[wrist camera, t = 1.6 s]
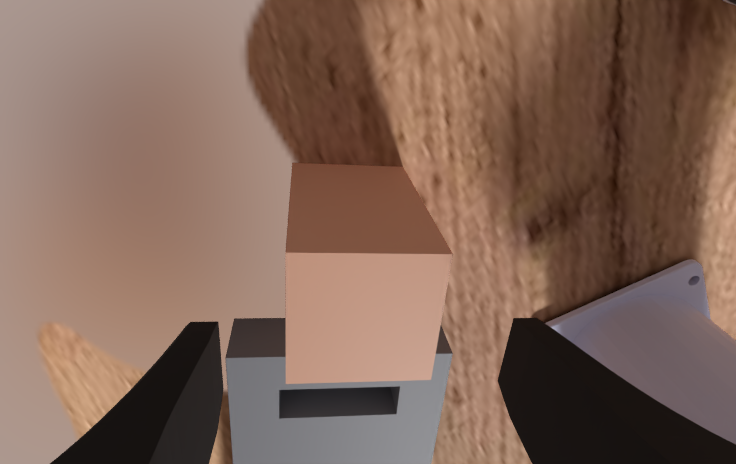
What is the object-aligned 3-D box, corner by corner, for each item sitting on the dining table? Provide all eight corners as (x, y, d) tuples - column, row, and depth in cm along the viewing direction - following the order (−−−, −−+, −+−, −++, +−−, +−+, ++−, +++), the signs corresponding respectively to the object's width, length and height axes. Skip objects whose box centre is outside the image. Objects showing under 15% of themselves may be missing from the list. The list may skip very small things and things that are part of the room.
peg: (402, 166, 18) (452, 253, 12) (392, 261, 20) (431, 379, 14) (292, 162, 18) (285, 252, 12) (291, 260, 20) (285, 384, 13)
